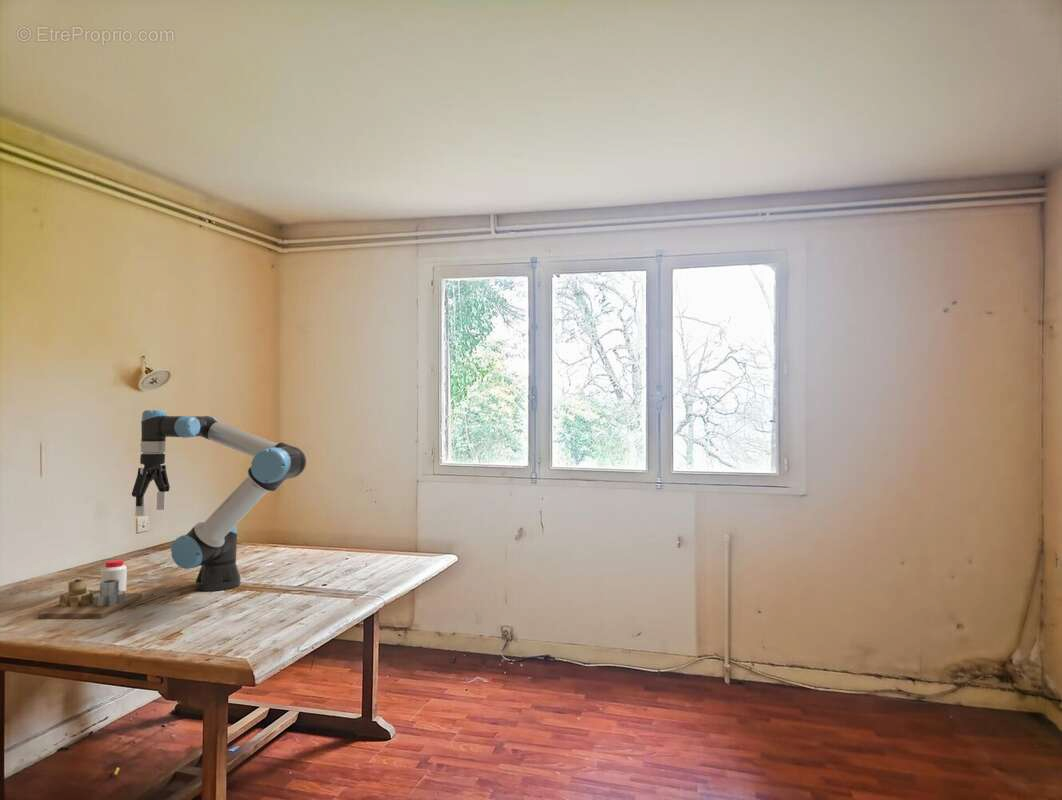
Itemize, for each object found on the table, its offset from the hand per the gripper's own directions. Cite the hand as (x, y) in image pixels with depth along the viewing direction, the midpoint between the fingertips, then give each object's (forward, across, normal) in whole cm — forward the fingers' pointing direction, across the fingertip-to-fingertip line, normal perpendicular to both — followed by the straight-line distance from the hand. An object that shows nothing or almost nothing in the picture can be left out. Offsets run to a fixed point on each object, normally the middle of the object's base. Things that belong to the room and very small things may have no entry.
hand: (150, 512), depth 219 cm
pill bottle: (+29, -2, -13) cm, 32 cm away
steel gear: (+27, +16, -4) cm, 32 cm away
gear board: (+29, +16, -9) cm, 34 cm away
